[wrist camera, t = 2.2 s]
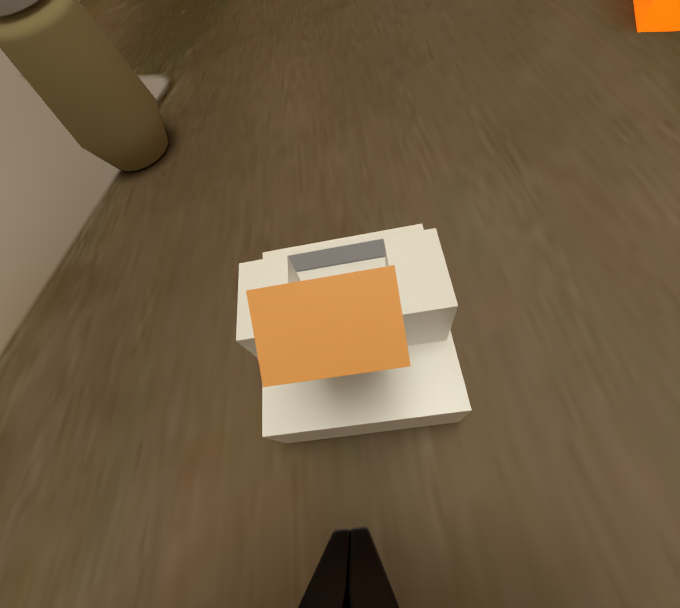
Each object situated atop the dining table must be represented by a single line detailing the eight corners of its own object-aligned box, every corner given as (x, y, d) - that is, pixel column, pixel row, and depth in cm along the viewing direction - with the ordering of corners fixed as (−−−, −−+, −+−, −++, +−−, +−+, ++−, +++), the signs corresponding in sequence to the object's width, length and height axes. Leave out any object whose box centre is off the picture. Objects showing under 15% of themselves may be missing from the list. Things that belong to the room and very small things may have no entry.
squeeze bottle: (98, 189, 34) (-174, -68, 18) (111, 135, 37) (-104, -118, 21) (176, 170, 33) (-33, -114, 17) (182, 117, 37) (14, -157, 21)
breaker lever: (391, 325, 18) (410, 366, 9) (314, 337, 19) (263, 387, 10) (382, 273, 18) (394, 265, 9) (305, 286, 19) (245, 290, 10)
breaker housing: (458, 422, 19) (491, 391, 12) (286, 443, 20) (225, 426, 13) (419, 260, 24) (426, 172, 17) (282, 283, 25) (236, 209, 18)
